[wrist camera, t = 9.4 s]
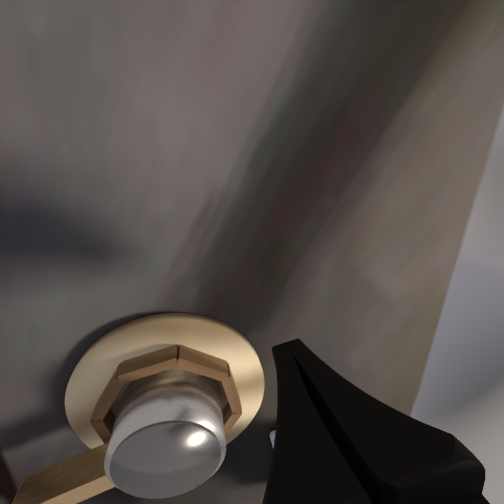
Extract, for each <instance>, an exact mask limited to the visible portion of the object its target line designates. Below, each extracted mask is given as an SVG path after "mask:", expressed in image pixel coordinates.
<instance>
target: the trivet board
mask: <svg viewBox="0 0 504 504" xmlns="http://www.w3.org/2000/svg"><path fill="white" fill-rule="evenodd" d="M175 367H179V368H182V369H185V370H188V371H191V372H194V373H197V374H200V375H204V376H207V377H210V378H213V379H214V380H215V382H216V383H217V385H218V387H219V391H220V398H221V406H222V415H223V423H224V432H225V440H226V444H228V443H229V442H231V441H232V440H233V439H235V438H236V437H237V436H238V435H239V434H240V433H241V432H242V431H243V430H244V429H245V428H246V427H247V426H248V425H249V424H250V422H251V421H252V419H253V418H254V416H255V415H256V413H257V411H258V409H259V407H260V405H261V401H262V398H263V393H264V375H263V370H262V367H261V364H260V361H259V358H258V355H257V353H256V351H255V350H254V348H253V346H252V345H251V344H250V342H249V341H248V340H247V339H246V338H245V337H244V336H243V335H242V334H241V333H240V332H239V331H237V330H236V329H234V328H233V327H231V326H229V325H227V324H225V323H223V322H221V321H219V320H216V319H213V318H210V317H207V316H203V315H198V314H190V313H163V314H155V315H150V316H146V317H142V318H138V319H135V320H132V321H130V322H127V323H125V324H123V325H120V326H118V327H116V328H114V329H113V330H111V331H110V332H108V333H106V334H105V335H103V336H102V337H101V338H100V339H98V340H97V341H96V342H95V343H94V344H92V345H91V347H90V348H89V349H88V350H87V351H86V352H85V353H84V355H83V356H82V358H81V359H80V361H79V362H78V364H77V366H76V368H75V369H74V371H73V373H72V375H71V378H70V380H69V382H68V385H67V389H66V393H65V410H66V416H67V419H68V421H69V424H70V426H71V428H72V429H73V431H74V433H75V434H76V435H77V436H78V438H79V439H80V440H81V441H82V442H83V443H84V444H86V445H87V446H88V447H89V448H90V449H93V448H95V447H98V446H100V445H102V444H105V443H107V442H109V441H110V438H111V434H112V431H113V427H114V423H115V420H116V416H117V413H118V409H119V405H120V402H121V398H122V396H123V393H124V391H125V390H126V388H127V387H128V386H129V384H130V383H131V382H132V381H134V380H137V379H140V378H143V377H146V376H150V375H153V374H156V373H159V372H162V371H165V370H168V369H172V368H175Z"/></svg>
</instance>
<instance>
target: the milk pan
mask: <svg viewBox="0 0 504 504" xmlns="http://www.w3.org/2000/svg"><path fill="white" fill-rule="evenodd" d="M225 454H226V440H225V432H224V423H223V415H222V406H221V398H220V391H219V387H218V385H217V383H216V382H215V380H214V379H213V378H210V377H207V376H204V375H200V374H197V373H194V372H191V371H188V370H185V369H182V368H179V367H175V368H172V369H168V370H165V371H162V372H159V373H156V374H153V375H150V376H146V377H143V378H140V379H137V380H134V381H132V382H131V383H130V384H129V386H128V387H127V388H126V390H125V391H124V393H123V396H122V398H121V402H120V405H119V409H118V413H117V416H116V420H115V423H114V427H113V431H112V434H111V438H110V441H109V442H107V443H105V444H102V445H100V446H98V447H95V448H93V449H90V450H88V451H86V452H83V453H81V454H79V455H76V456H74V457H71V458H69V459H67V460H64V461H62V462H60V463H57V464H55V465H53V466H50V467H48V468H45V469H43V470H41V471H38V472H36V473H34V474H31V475H29V476H27V477H25V478H24V480H23V482H22V484H21V486H20V488H19V490H18V492H17V494H16V496H15V498H14V500H13V503H12V504H76V503H79V502H81V501H83V500H86V499H88V498H90V497H93V496H95V495H97V494H99V493H102V492H104V491H106V490H109V489H111V488H113V487H117V488H118V489H120V490H121V491H124V492H125V493H127V494H130V495H133V496H136V497H140V498H148V499H158V498H167V497H172V496H177V495H180V494H183V493H185V492H188V491H190V490H192V489H194V488H196V487H198V486H199V485H201V484H202V483H204V482H205V481H206V480H208V479H209V478H210V477H211V476H212V475H213V474H214V473H215V472H216V471H217V470H218V469H219V467H220V466H221V464H222V462H223V460H224V458H225Z"/></svg>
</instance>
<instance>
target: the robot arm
mask: <svg viewBox="0 0 504 504" xmlns="http://www.w3.org/2000/svg"><path fill="white" fill-rule="evenodd" d="M272 353H273V357H274V362H275V366H276V371H277V385H278V405H277V422H276V430H273V431H271V432H270V439H271V443H272V446H273V455H272V461H271V466H270V472H269V477H268V482H267V486H266V491H265V495H264V499H263V503H262V504H490V503H489V502H488V501H487V500H486V499H485V497H484V496H483V495H482V491H483V486H484V482H485V468H484V466H483V465H482V463H481V462H480V461H479V460H478V459H477V458H476V457H475V456H474V455H473V454H472V452H471V451H469V450H468V449H467V448H466V447H465V446H464V445H463V444H462V443H461V442H460V441H459V440H458V439H457V438H455V437H454V436H453V435H452V434H449V433H447V432H445V431H442V430H440V429H437V428H434V427H432V426H429V425H427V424H424V423H422V422H420V421H418V420H415V419H414V418H411V417H409V416H407V415H405V414H403V413H401V412H399V411H397V410H395V409H394V408H392V407H390V406H388V405H386V404H384V403H382V402H380V401H379V400H377V399H375V398H374V397H372V396H370V395H369V394H367V393H365V392H364V391H362V390H361V389H359V388H358V387H356V386H355V385H353V384H352V383H350V382H349V381H347V380H346V379H345V378H343V377H342V376H341V375H339V374H338V373H337V372H335V371H334V370H333V369H332V368H330V367H329V366H328V365H327V364H326V363H324V362H323V361H322V360H321V359H320V358H319V357H317V356H316V355H315V354H314V353H313V352H312V351H311V350H310V349H309V348H308V347H307V346H306V345H305V344H304V343H303V342H302V341H301V340H300V339H295V340H292V341H289V342H285V343H282V344H279V345H276V346H273V348H272Z"/></svg>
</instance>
